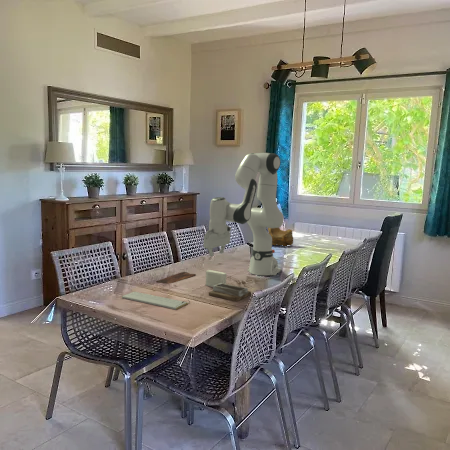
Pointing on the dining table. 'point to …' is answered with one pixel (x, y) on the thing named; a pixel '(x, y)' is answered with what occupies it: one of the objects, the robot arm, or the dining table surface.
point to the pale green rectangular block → (215, 278)
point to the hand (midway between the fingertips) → (216, 254)
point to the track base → (229, 292)
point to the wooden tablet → (176, 278)
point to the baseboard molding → (155, 300)
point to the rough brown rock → (281, 236)
